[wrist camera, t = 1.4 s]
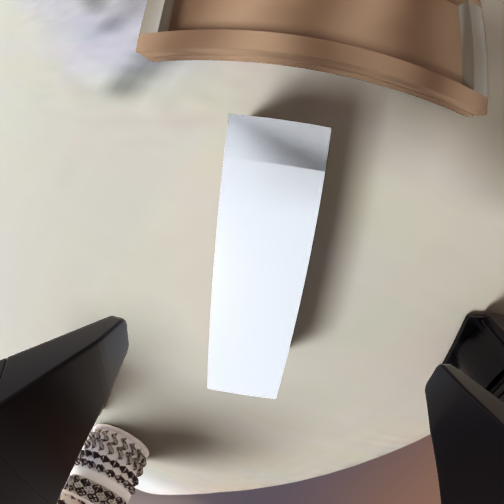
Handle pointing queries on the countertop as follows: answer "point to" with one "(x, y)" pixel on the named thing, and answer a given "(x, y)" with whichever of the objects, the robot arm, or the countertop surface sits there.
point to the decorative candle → (106, 468)
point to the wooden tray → (335, 41)
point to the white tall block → (262, 248)
